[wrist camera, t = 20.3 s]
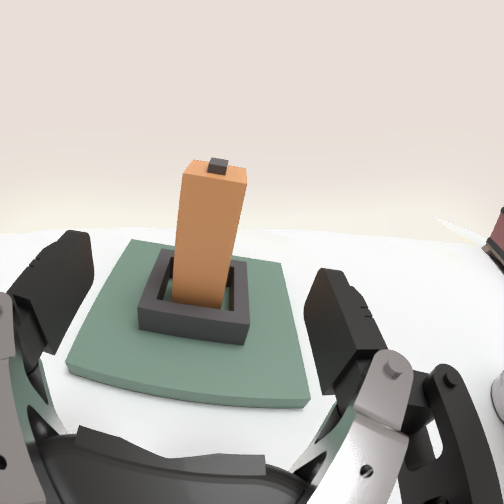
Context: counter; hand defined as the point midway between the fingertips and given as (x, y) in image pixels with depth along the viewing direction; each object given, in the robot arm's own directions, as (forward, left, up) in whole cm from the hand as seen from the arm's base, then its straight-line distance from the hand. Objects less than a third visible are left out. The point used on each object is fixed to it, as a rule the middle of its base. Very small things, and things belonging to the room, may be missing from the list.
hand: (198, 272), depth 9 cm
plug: (+10, -5, -11) cm, 16 cm away
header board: (+10, -5, -13) cm, 17 cm away
